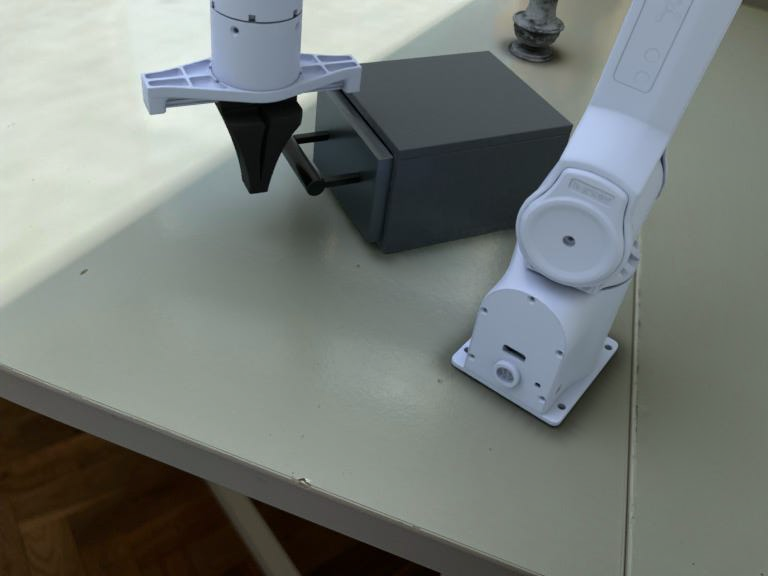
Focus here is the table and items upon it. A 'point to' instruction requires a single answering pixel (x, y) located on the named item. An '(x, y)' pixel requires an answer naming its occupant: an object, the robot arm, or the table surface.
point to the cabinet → (457, 144)
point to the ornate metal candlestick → (536, 31)
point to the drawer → (345, 162)
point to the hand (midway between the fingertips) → (254, 185)
